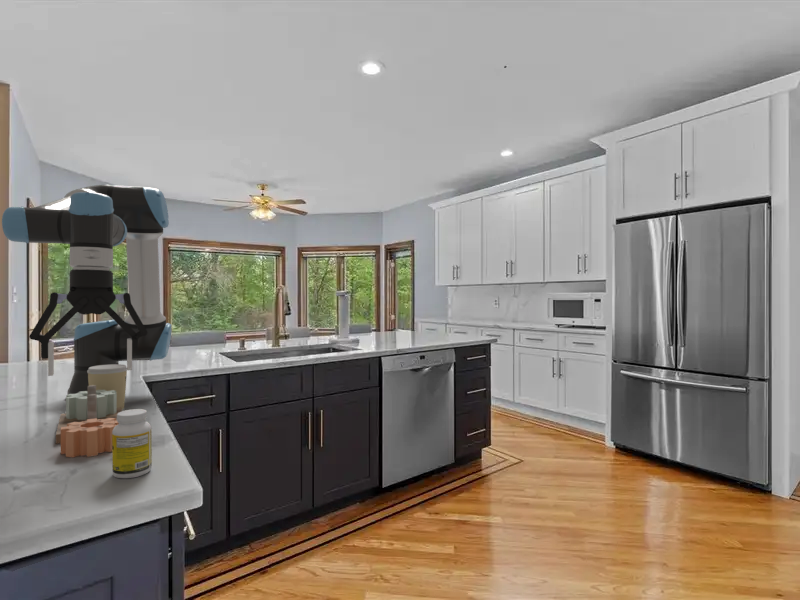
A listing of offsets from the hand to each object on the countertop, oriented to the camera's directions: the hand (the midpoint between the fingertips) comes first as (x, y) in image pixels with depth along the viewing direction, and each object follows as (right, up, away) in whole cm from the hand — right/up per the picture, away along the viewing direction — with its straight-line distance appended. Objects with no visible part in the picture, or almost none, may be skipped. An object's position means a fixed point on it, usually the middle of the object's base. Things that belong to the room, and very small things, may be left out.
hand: (91, 372), depth 98 cm
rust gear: (0, -16, 0) cm, 16 cm away
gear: (-13, -14, +20) cm, 27 cm away
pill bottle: (+15, -17, -12) cm, 26 cm away
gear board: (-10, -16, +15) cm, 24 cm away
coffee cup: (-16, -16, +32) cm, 39 cm away
